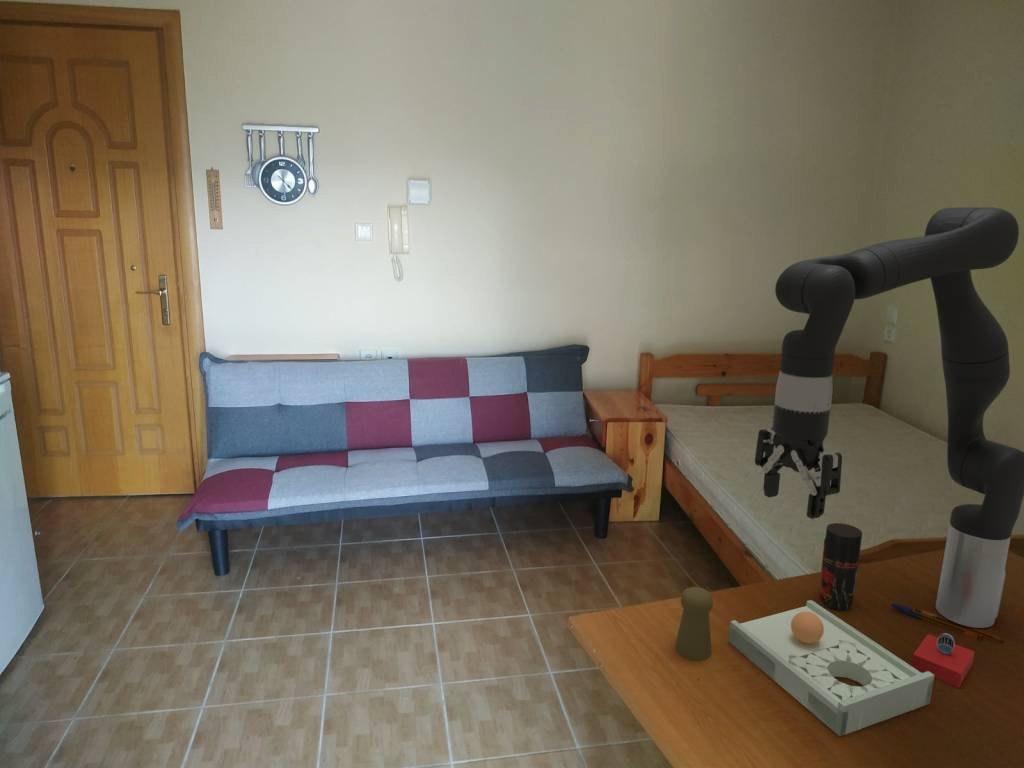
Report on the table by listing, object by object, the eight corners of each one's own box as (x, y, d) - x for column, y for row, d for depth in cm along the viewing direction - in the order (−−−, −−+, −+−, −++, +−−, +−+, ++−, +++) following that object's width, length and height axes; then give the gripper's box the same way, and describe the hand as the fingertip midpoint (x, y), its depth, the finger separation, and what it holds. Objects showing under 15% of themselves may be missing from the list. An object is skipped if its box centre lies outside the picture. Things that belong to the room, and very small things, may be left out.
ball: (805, 629, 118) (808, 603, 117) (828, 645, 114) (832, 618, 113) (782, 635, 116) (785, 609, 115) (805, 652, 112) (808, 625, 111)
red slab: (925, 648, 118) (931, 615, 117) (971, 666, 114) (978, 632, 112) (910, 669, 113) (916, 635, 111) (958, 689, 108) (964, 654, 107)
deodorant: (856, 612, 128) (866, 538, 125) (821, 609, 130) (830, 535, 126) (847, 596, 134) (857, 524, 130) (815, 592, 135) (823, 521, 132)
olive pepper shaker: (714, 644, 119) (719, 586, 116) (708, 664, 114) (713, 604, 111) (679, 635, 121) (682, 579, 119) (671, 654, 116) (675, 596, 114)
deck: (808, 619, 126) (811, 594, 125) (930, 704, 105) (935, 675, 103) (728, 641, 120) (730, 616, 118) (840, 737, 98) (844, 707, 97)
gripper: (862, 412, 96) (848, 520, 100) (785, 389, 108) (775, 485, 112) (822, 418, 93) (809, 530, 97) (747, 393, 105) (739, 493, 109)
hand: (791, 506), depth 104 cm, fingers open, 8 cm apart
